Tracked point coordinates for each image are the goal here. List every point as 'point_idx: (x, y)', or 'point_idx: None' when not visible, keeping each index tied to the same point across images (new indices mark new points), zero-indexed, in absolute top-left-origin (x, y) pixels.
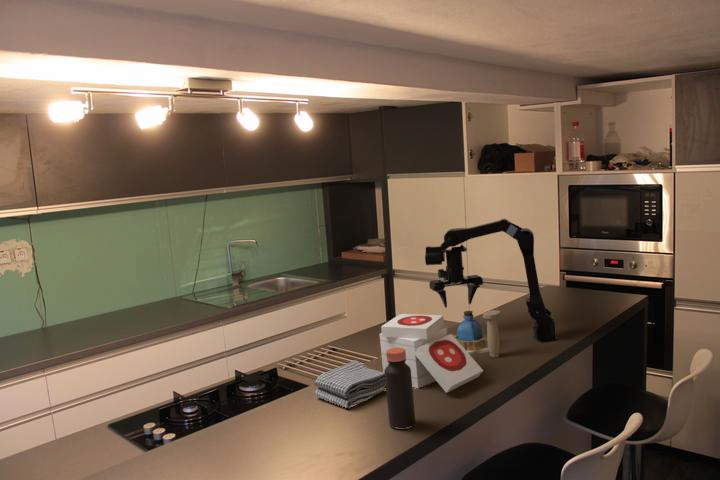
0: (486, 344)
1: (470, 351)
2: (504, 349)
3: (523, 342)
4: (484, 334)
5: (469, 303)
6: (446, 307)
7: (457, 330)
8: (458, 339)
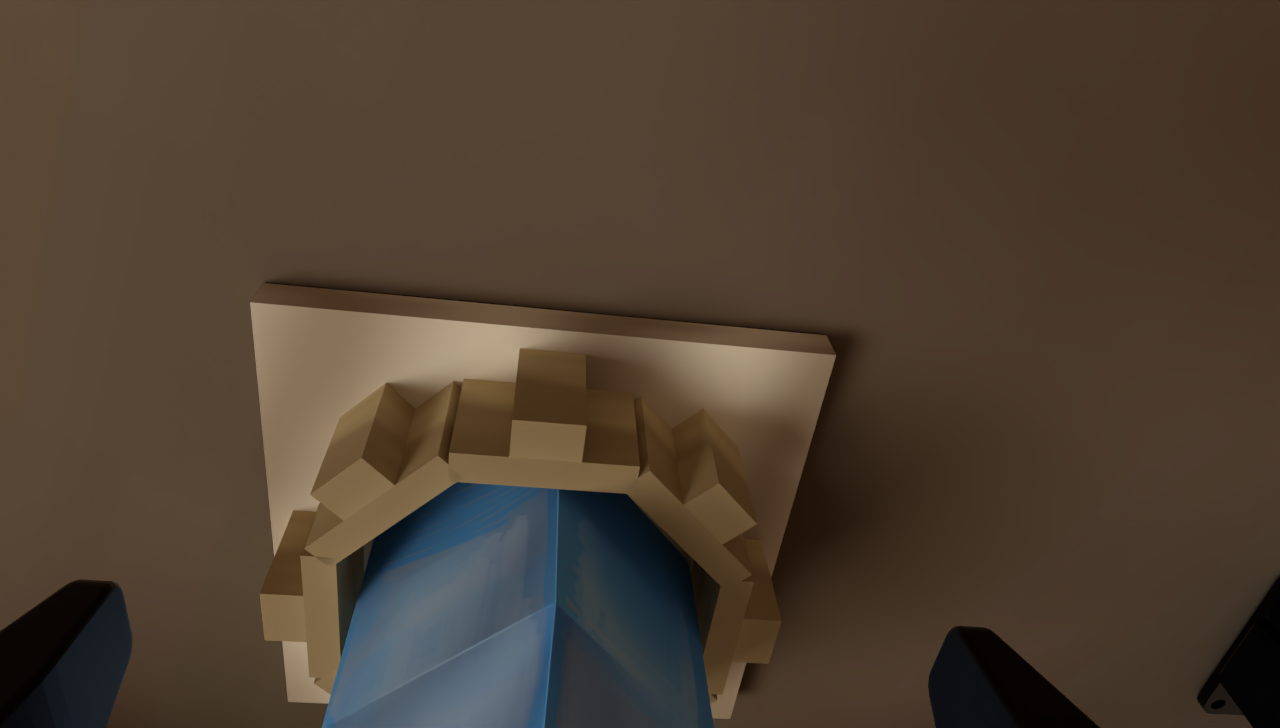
0: None
1: None
2: (804, 692)
3: (1092, 624)
4: (747, 635)
5: (937, 694)
6: (119, 655)
7: (327, 719)
8: (362, 608)
